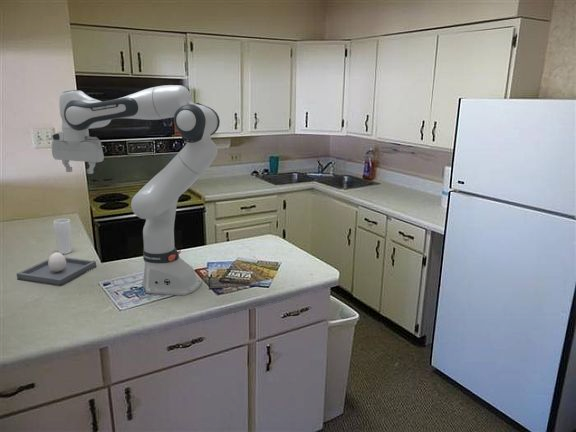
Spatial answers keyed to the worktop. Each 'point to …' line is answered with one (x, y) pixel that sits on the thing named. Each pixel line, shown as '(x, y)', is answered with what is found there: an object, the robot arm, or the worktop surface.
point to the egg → (57, 262)
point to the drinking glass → (63, 235)
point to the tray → (48, 276)
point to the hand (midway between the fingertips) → (79, 172)
